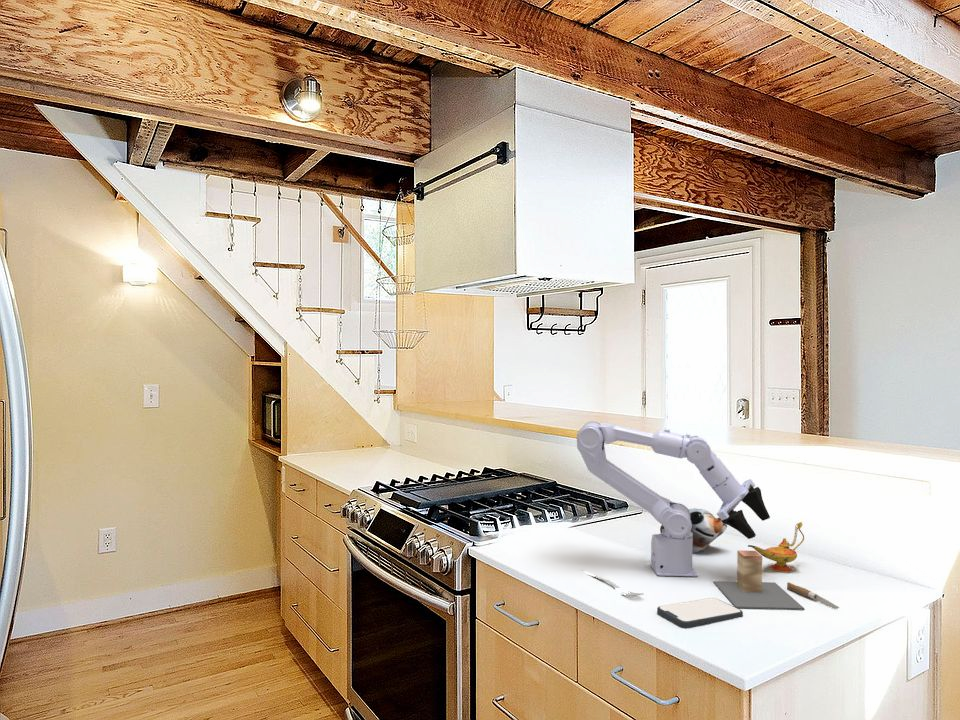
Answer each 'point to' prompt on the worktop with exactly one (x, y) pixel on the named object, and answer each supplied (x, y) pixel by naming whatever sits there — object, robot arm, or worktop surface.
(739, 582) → the maple block
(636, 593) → the fork
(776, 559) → the magic lamp
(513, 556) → the worktop surface
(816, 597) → the folding knife
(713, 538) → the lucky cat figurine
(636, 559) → the worktop surface
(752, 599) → the rubber mat
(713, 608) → the phone case
